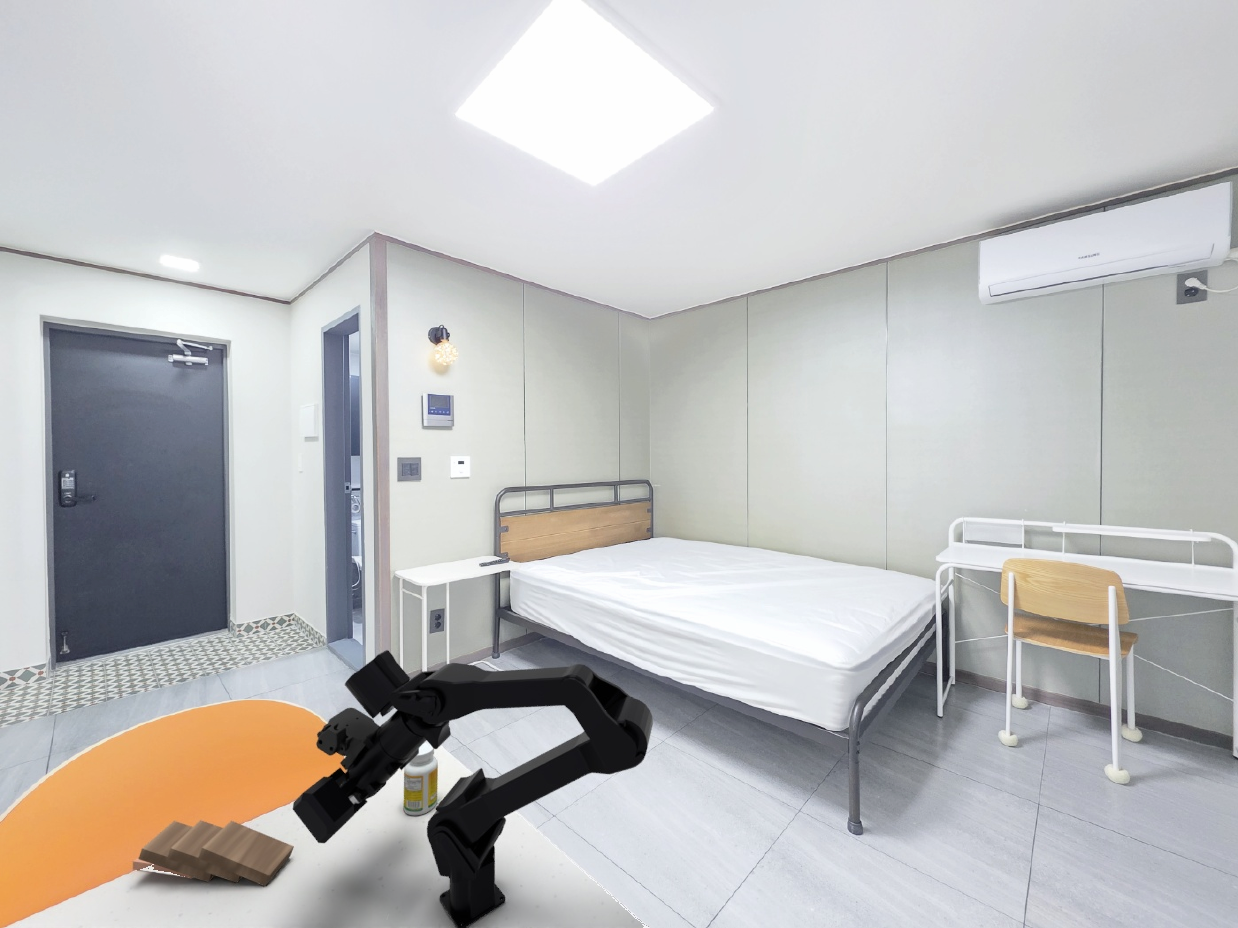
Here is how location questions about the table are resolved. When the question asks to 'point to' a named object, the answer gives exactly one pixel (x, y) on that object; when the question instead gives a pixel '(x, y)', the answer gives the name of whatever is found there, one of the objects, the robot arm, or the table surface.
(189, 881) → the table surface
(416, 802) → the supplement bottle
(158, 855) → the domino
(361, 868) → the table surface
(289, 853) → the domino
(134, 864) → the domino
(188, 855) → the domino
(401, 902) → the table surface
